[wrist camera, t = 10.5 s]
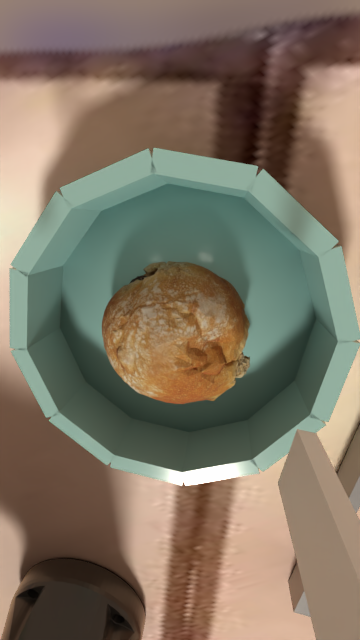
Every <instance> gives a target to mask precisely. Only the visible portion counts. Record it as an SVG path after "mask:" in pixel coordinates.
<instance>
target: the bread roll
mask: <svg viewBox="0 0 360 640" xmlns="http://www.w3.org/2000/svg"><path fill="white" fill-rule="evenodd" d="M143 270H144V271H145V273H146V274H144V275H142V276H137V277H136V278H135V279H132V281H131V282H130V283H129V284H128V285H125V286H123V287H122V288H120V289H119V290H118V291H117V292H116V293H115V294H114V295H113V297H112V298H111V299H110V301H109V302H108V304H107V306H106V309H105V311H104V315H103V319H102V337H103V342H104V348H105V350H106V353H107V356H108V359H109V361H110V363H111V365H112V367H113V368H114V370H115V371H116V373H117V374H118V375H119V376H120V377H121V378H122V380H123V381H124V382H125V383H127V384H128V385H129V386H130V387H131V388H133V389H134V390H135V391H136V392H138V393H140V394H142V395H145V396H148V397H150V398H153V399H156V400H159V401H163V402H166V403H173V404H182V405H183V404H186V403H190V402H196V401H203V400H210V401H215V400H216V398H217V397H219V396H220V395H221V394H223V393H224V392H225V391H226V390H228V389H230V388H232V386H234V385H235V383H236V380H235V379H236V378H241V377H243V376H244V375H245V374H246V372H247V370H248V368H249V367H250V356H249V357H247V356H246V355H245V356H244V354H243V352H242V351H243V349H244V347H245V344H246V341H247V338H248V335H249V333H248V329H249V326H250V323H249V320H248V318H247V316H246V314H245V311H244V308H245V304H244V303H243V301H242V299H241V297H240V296H239V294H238V292H237V291H236V289H235V288H234V286H233V285H232V284H231V283H230V282H228V281H227V280H225V279H224V278H221V277H219V276H218V275H217V274H216V273H213V272H212V271H210V270H209V269H207V268H205V267H202V266H199V265H196V264H192V263H189V262H172V261H168V262H167V263H166V262H158V263H151V264H149V265H148V266H146V267H145V268H144V269H143Z"/></svg>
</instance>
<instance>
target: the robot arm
mask: <svg viewBox="0 0 360 640" xmlns="http://www.w3.org/2000/svg"><path fill="white" fill-rule="evenodd" d="M278 486H279V490H280V494H281V498H282V502H283V506H284V510H285V514H286V518H287V522H288V526H289V531H290V535H291V539H292V543H293V547H294V551H295V555H296V559H297V563H298V567H299V571H300V575H301V579H302V584H303V588H304V592H305V596H306V600H307V604H308V608H309V612H310V616H311V620H312V624H313V628H314V632H315V637H316V640H360V520H359V518H358V516H357V514H356V512H355V510H354V508H353V506H352V504H351V502H350V500H349V498H348V496H347V494H346V492H345V490H344V488H343V486H342V484H341V482H340V480H339V478H338V476H337V474H336V472H335V470H334V468H333V466H332V464H331V462H330V460H329V458H328V456H327V454H326V452H325V450H324V448H323V446H322V444H321V442H320V440H319V438H318V436H317V434H316V433H313V432H308V431H304V430H299V429H297V431H296V433H295V436H294V439H293V442H292V445H291V448H290V450H289V453H288V456H287V459H286V462H285V465H284V467H283V470H282V473H281V476H280V479H279V481H278ZM144 624H145V611H144V607H143V605H142V603H141V601H140V599H139V597H138V596H137V594H136V593H135V592H134V590H133V589H132V588H131V587H130V586H129V585H128V584H127V583H126V582H124V581H123V580H122V579H121V578H119V577H118V576H116V575H115V574H113V573H112V572H110V571H108V570H106V569H104V568H102V567H99V566H97V565H94V564H91V563H88V562H84V561H80V560H74V559H53V560H48V561H44V562H41V563H39V564H37V565H35V566H34V567H32V568H31V569H30V570H29V571H28V572H27V573H26V575H25V577H24V579H23V580H22V582H21V584H20V586H19V587H18V589H17V591H16V593H15V595H14V597H13V599H12V602H11V605H10V609H9V612H8V616H7V620H6V623H5V627H4V630H3V634H2V637H1V640H142V635H143V629H144Z"/></svg>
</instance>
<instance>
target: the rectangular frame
mask: <svg viewBox="0 0 360 640" xmlns="http://www.w3.org/2000/svg"><path fill="white" fill-rule="evenodd" d="M337 476H338V478H339V480H340V482H341V484H342V486H343V488H344V490H345V492H346V494H347V496H348V498H349V500H350V502H351V504H352V506H353V508H354V510H355V512H356V513H357V511H358V509H359V507H360V424H359V426H358V428H357V431H356V433H355V435H354V437H353V440H352V442H351V444H350V446H349V448H348V451H347V453H346V455H345V457H344V460H343V462H342V464H341V466H340V468H339V471H338V473H337ZM288 583H289V589H290V594H291V600H292V605H293V611H294V612H295V613H298V614H302V615H306V616H309V617H311V616H310V612H309V608H308V604H307V600H306V596H305V592H304V588H303V584H302V579H301V575H300V571H299V567H298V563H297V564H296V566H295V568H294V570H293V573H292V575H291V577H290V579H289V581H288Z"/></svg>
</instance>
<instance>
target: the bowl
mask: <svg viewBox="0 0 360 640" xmlns="http://www.w3.org/2000/svg"><path fill="white" fill-rule="evenodd" d="M257 169H258V166H255V165H249V164H243V163H238V162H232V161H227V160H221V159H215V158H210V157H204V156H198V155H193V154H187V153H182V152H176V151H170V150H165V149H159V148H153V152H152V151H151V150H150V149H149V148H148V149H145V150H143V151H141V152H139V153H137V154H134V155H132V156H130V157H128V158H125V159H123V160H121V161H119V162H116V163H114V164H112V165H110V166H107V167H105V168H103V169H101V170H98V171H96V172H94V173H92V174H89V175H87V176H85V177H83V178H81V179H78V180H76V181H74V182H72V183H69V184H67V185H65V186H63V187H60V190H61V192H59V191H56V192H55V193H54V195H53V197H52V198H51V200H50V202H49V203H48V205H47V206H46V208H45V210H44V211H43V213H42V215H41V216H40V218H39V219H38V221H37V223H36V224H35V226H34V228H33V229H32V231H31V232H30V234H29V236H28V237H27V239H26V240H25V242H24V244H23V245H22V247H21V249H20V250H19V252H18V253H17V255H16V257H15V258H14V260H13V262H12V263H11V265H12V266H13V267H14V268H10V348H14V350H12V351H11V353H12V354H13V356H14V358H15V360H16V362H17V364H18V366H19V368H20V370H21V371H22V373H23V375H24V377H25V379H26V381H27V383H28V385H29V387H30V388H31V390H32V392H33V394H34V396H35V398H36V400H37V402H38V404H39V405H40V407H41V409H42V411H43V413H44V415H45V417H46V418H48V417H51V418H50V420H49V421H50V422H51V423H52V424H53V425H55V426H56V427H57V428H59V429H60V430H61V431H62V432H64V433H65V434H66V435H68V436H69V437H70V438H72V439H73V440H74V441H75V442H77V443H78V444H79V445H81V446H82V447H83V448H85V449H86V450H87V451H88V452H90V453H91V454H92V455H94V456H95V457H96V458H98V459H99V460H100V461H101V462H103V463H104V464H105V465H108V464H109V463H110V462H111V466H110V467H111V468H115V469H119V470H122V471H126V472H130V473H134V474H138V475H142V476H146V477H150V478H154V479H158V480H161V481H165V482H169V483H173V484H177V485H181V486H182V483H183V481H184V484H185V486H188V485H194V484H200V483H205V482H211V481H217V480H223V479H229V478H235V477H241V476H247V475H252V474H258V473H259V469H260V470H261V471H265V470H266V469H268V468H269V467H270V466H272V465H273V464H274V463H276V462H277V461H278V460H280V459H281V458H282V457H284V456H285V455H286V454H288V453H289V450H290V448H291V445H292V442H293V439H294V436H295V433H296V431H297V429H299V430H304V431H308V432H313V433H316V432H317V431H319V430H320V429H321V428H323V427H324V426H325V425H326V424H325V422H324V421H327V422H329V419H330V417H331V414H332V412H333V410H334V407H335V405H336V402H337V400H338V397H339V395H340V392H341V390H342V388H343V385H344V383H345V380H346V378H347V375H348V373H349V370H350V368H351V366H352V363H353V361H354V358H355V356H356V353H357V351H358V348H359V346H360V343H359V342H358V341H357V340H359V339H360V332H359V327H358V322H357V318H356V313H355V308H354V303H353V298H352V294H351V289H350V284H349V279H348V275H347V270H346V265H345V260H344V255H343V251H342V246H340V245H336V244H337V243H338V242H339V241H338V240H337V239H336V238H335V237H334V236H333V235H332V234H331V233H330V232H329V231H328V230H327V229H326V228H325V227H323V226H322V225H321V224H320V223H319V222H318V221H317V220H316V219H315V218H314V217H313V216H312V215H311V214H310V213H309V212H308V211H307V210H306V209H305V208H304V207H303V206H302V205H301V204H299V203H298V202H297V201H296V200H295V199H294V198H293V197H292V196H291V195H290V194H289V193H288V192H287V191H286V190H285V189H284V188H283V187H282V186H281V185H280V184H279V183H278V182H277V181H276V180H274V179H273V178H272V177H271V176H270V175H269V174H268V173H267V172H266V171H265V170H264V169H262V171H261V172H260V173H259V174H258V175H257V176H256V174H257ZM168 261H172V262H189V263H192V264H196V265H199V266H202V267H205V268H207V269H209V270H210V271H212V272H213V273H216V274H217V275H218V276H219V277H221V278H224V279H225V280H227V281H228V282H230V283H231V284H232V285H233V286H234V288H235V289H236V291H237V292H238V294H239V296H240V297H241V299H242V301H243V303H244V304H245V308H244V311H245V314H246V316H247V318H248V320H249V323H250V326H249V329H248V333H249V335H248V338H247V341H246V344H245V347H244V349H243V351H242V352H243V354H244V356H245V355H246V356H247V357H249V356H250V367H249V368H248V370H247V372H246V374H245V375H244V376H243V377H241V378H236V379H235V380H236V383H235V385H234V386H232V388H230V389H228V390H226V391H225V392H224V393H223V394H221V395H220V396H219V397H217V398H216V400H215V401H210V400H203V401H196V402H190V403H186V404H183V405H182V404H173V403H166V402H163V401H159V400H156V399H153V398H150V397H148V396H145V395H142V394H140V393H138V392H136V391H135V390H134V389H133V388H131V387H130V386H129V385H128V384H127V383H125V382H124V381H123V380H122V378H121V377H120V376H119V375H118V374H117V373H116V371H115V370H114V368H113V367H112V365H111V363H110V361H109V359H108V356H107V353H106V350H105V348H104V342H103V337H102V319H103V315H104V311H105V309H106V306H107V304H108V302H109V301H110V299H111V298H112V297H113V295H114V294H115V293H116V292H117V291H118V290H119V289H120V288H122V287H123V286H125V285H128V284H129V283H130V282H131V281H132V279H135V278H136V277H137V276H142V275H144V274H146V273H145V271H144V270H143V269H144V268H145V267H146V266H148V265H149V264H151V263H158V262H166V263H167V262H168Z"/></svg>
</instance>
